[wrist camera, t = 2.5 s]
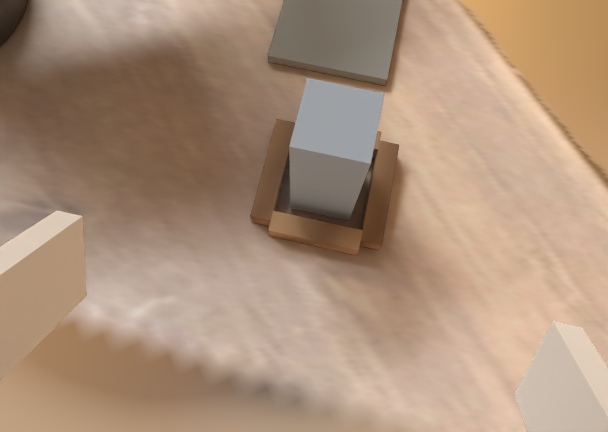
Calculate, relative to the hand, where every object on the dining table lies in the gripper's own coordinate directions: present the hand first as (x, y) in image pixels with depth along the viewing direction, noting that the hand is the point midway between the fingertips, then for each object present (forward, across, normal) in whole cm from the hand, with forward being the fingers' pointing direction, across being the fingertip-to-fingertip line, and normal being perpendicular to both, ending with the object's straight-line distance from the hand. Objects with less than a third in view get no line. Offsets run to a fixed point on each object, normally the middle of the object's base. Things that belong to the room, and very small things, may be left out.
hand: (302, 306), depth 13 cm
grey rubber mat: (+32, -2, +6) cm, 33 cm away
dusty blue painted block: (+22, 0, -5) cm, 22 cm away
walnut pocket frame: (+22, 0, -5) cm, 22 cm away
